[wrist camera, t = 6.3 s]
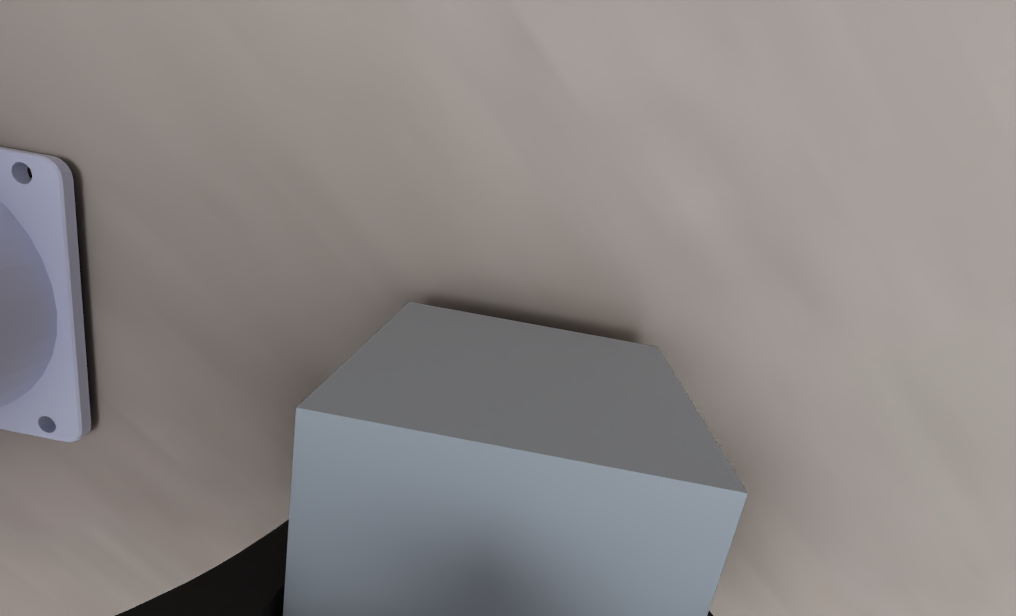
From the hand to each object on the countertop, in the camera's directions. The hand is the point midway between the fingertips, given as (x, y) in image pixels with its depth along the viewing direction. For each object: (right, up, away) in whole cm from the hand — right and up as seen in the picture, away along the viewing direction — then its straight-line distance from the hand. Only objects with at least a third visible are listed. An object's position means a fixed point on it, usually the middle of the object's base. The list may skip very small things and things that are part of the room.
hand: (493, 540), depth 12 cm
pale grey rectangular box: (0, +1, +1) cm, 1 cm away
